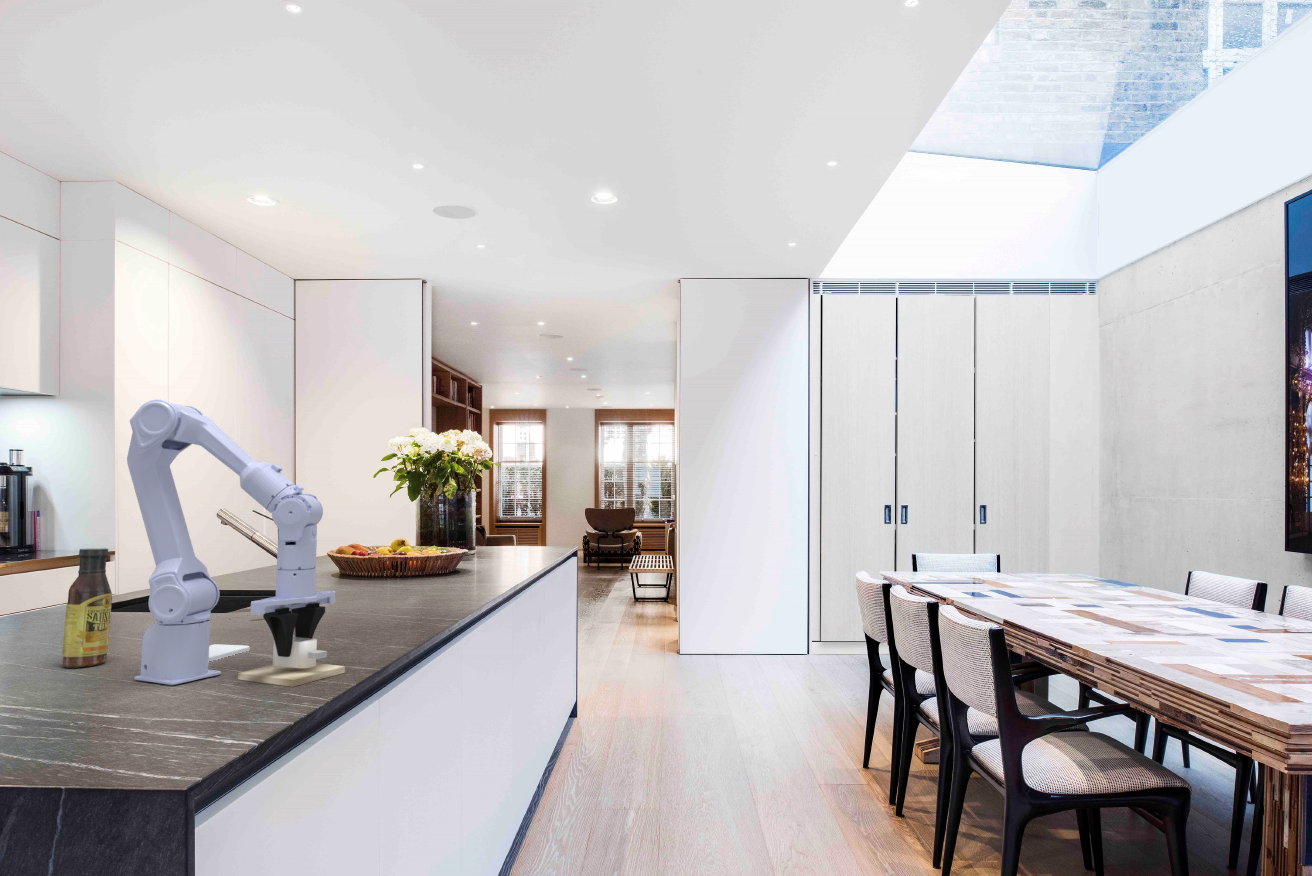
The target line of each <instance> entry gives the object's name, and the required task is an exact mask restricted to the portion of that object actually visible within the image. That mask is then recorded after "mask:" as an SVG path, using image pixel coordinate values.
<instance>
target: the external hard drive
mask: <svg viewBox="0 0 1312 876" xmlns="http://www.w3.org/2000/svg"><path fill="white" fill-rule="evenodd" d="M249 650H250V651H251V647H250V646H249V645H244V644H243V645H242V644H241V645H240V644H219V643H217V644H215V643H213V644H209V661H212V662H214V661H213V660H216V661H219V660H218V659H220V660H222V659H221V658H223V659H225V658H224V657H227V658H229V657H228V656H231V657H233V656H232V655H234V656H236V655H235V654H238V653H242V652H245V653H247V652H246V651H249ZM250 651H249V652H250ZM242 654H243V653H242ZM238 655H239V654H238Z"/></svg>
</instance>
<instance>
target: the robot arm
mask: <svg viewBox="0 0 1312 876" xmlns="http://www.w3.org/2000/svg"><path fill="white" fill-rule="evenodd" d="M129 424H130V427H131V431H132V434H131V437H130V443H129V447H128V451H127V456H126V461H127V462H126V463H127V467H128V470H129V475H130V478H131V481H132V484H133V485H132V486H133V488H134V493H135V496H136V499H137V503H138V506H139V511H140V514H141V517H142V521H143V524H144V529H145V532H146V536H147V538H148V542H149V545H150V549H151V553H152V556H153V560H154V564H155V568H154V569H153V572H152V573H151V575H150V577H149V579H148V584H149V589H150V594H149V598H148V610H149V611H150V614H151V615H152V616H153V618H155V619H156V621H155V622H154V623H152V624H151V625H149V626H148V627H147V629H146V630H145V632H144V634H143V636H142V644H141V660H140V675H135V676H134V680H136V681H142V682H149V683H156V684H163V685H168V686H169V685H171V686H174V685H180V684H184V683H188V682H192V681H196V680H201V679H205V678H209V677H210V678H211V677H214V676H219V675H221V674H222V671H220V670H215V669H214V670H213V669H209V663H210V662H209V646H210V640H211V639H210V637H211V618H212V617H211V614H212V613H211V612H212V610H213V609H214V608H215V606H217V604H218V602H219V599H220V595H221V593H220V587H219V586H218V584H217V582H216V581H215V580H214V579H213V578H212V577H211V576H210V574H209V571H208V568H207V566H206V565H205V564H204V563H203V562H202V561H200V559H198V558H197V557H196V554H195V551H194V550H195V549H194V547H193V543H192V540H191V536H190V532H189V530H188V526H187V521H186V518H185V516H184V512H183V508H182V504H181V501H180V497H179V493H178V490H177V486H176V483H175V480H174V477H173V473H172V468H171V465H172V463H173V462H174V460H175V459H176V458H177V457H178V455H179V454H180V453H182V452H183V451H185V450H186V449H188V448H189V447H190V446H192V445H195V446H201V447H202V448H203V449H204V450H205V451H207V452H208V453H209V454H211V455H212V456H213V457H215V458H216V459H217V460H219V462H221V463H222V464H224V465H225V466H226V467H227V468H228V469H230V470H231V471H233V472H234V473H235V474H236V475H238V476H239V482H240V483H239V485H240V489H242V490H243V491H244V492H245V493H247V494H248V495H249V496H250V497H251V498H252V499H253V500H255V501H256V502H257V503H258V504H259V505H261V506H262V507H263V509H265V510H266V511H268V512H269V514H271V517H272V521H273V523H274V525H275V526H276V527H277V528H278V534H277V535H278V536H277V553H276V554H277V555H276V556H277V557H276V579H275V596H271V597H267V598H263V599H260V600H259V599H258V600H253V601H251V602H250V615H257V616H260V615H262V616H263V619H264V620H265V622H266V623H267V626H268V628H269V629H270V631H271V634H272V637H273V642H274V641H275V645H276V649H277V653H278V656H281V657H289V656H290V654H291V649H292V642H293V637H300V638H310V639H314V638H313V637H314V634H315V632H316V629H317V628H318V625H319V623H320V621H321V620H322V618H323V616H324V615H325V613H326V606H320V605H324V604H336V591H335V590H334V591H333V590H325V591H316V574H317V572H316V571H317V570H316V569H317V568H316V567H317V546H318V545H317V544H318V543H317V535H318V534H317V533H318V524H319V523H320V522H321V519H322V518H323V515H324V514H323V513H324V509H323V504H322V503H321V502H320V501H319V499H318V498H317V496H316V495H314V494H311V493H303V491H304V487H303V486H302V485H301V484H295V483H293V481H292V480H290V479H289V478H288V477H287V476H285V475H284V474H283V473H282V471H283V467H281V466H280V465H279V464H277V463H272V464H271V462H268V461H262V462H257V461H256V460H255V459H254V458H253V457H252V456H251V455H249V453H248V452H246V451H245V449H243V448H242V447H241V446H240V445H239V444H238V443H237V442H236V441H235V440H234V439H233V438H232V437H231V436H229V434H227V432H225V431H224V430H223V429H222V428H221V427H220V426H219V425H218V424H217V423H216V422H215V420H213V419H212V418H211V417H210V416H207V415H204V414H203V412H202V411H201V410H200V409H198V408H196V407H193V406H190V405H188V406H187V405H181V404H177V403H173V402H169V401H167V400H165V399H158V398H157V399H151V400H149V401H148V400H147V401H146V402H145V403H143V404H141V406H140V407H139V408H138V410H137V411H136V412H135V413H134V414H133V415H132V417H131V418H130V419H129Z"/></svg>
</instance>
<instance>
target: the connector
mask: <svg viewBox="0 0 1312 876" xmlns="http://www.w3.org/2000/svg"><path fill="white" fill-rule="evenodd" d="M317 644H318V639H317V638H312V639H310V638H300V637H295V636H293V642H292V649H291V654H290V656H289V657H281V656H278V653H277V649H276V645H275V641H274V640H273V649H272V650H273V651H272V665H276V666H284V667H293V668H310V667H314V666H316V663H317V660H319V659H324V658H327V657H328V651H327V650H319V649H317V647H318V645H317Z"/></svg>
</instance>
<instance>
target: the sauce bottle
mask: <svg viewBox="0 0 1312 876" xmlns="http://www.w3.org/2000/svg"><path fill="white" fill-rule="evenodd" d="M108 556H109V548H106V547H98V548H97V547H92V548H91V547H89V548H79V551H78V557H79V568H78V569H79V570H78V571H77V572H78V573H77V574H78V575H77V577H76V579H75V580H74V581H73V582H72V583H71V585H70V587H69V589H68V593H67V594H68V596H67V603H66V609H65V621H64V630H63V641H62V652H61V656H62V666H63V667H64V668H84V667H91V666H98V665H101V664H104V663H105V662H106V660H107V655H108V653H109V652H108V651H109V639H110V628H111V615H112V603H113V592H112V589H111V587H110V583H109V580H108V577H107V569H106V567H107V559H108Z"/></svg>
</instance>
